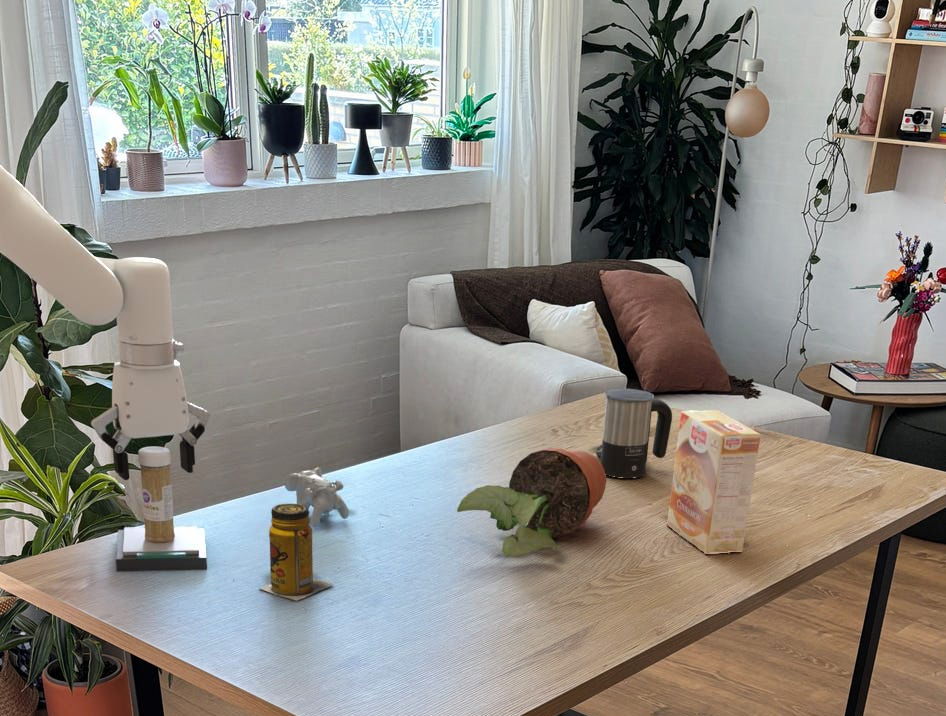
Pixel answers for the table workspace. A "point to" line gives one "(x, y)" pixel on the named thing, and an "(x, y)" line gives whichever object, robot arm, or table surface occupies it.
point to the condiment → (292, 553)
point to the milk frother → (632, 432)
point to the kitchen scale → (161, 550)
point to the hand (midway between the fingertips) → (155, 473)
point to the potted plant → (542, 498)
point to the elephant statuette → (317, 494)
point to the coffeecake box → (713, 480)
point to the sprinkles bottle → (157, 493)
